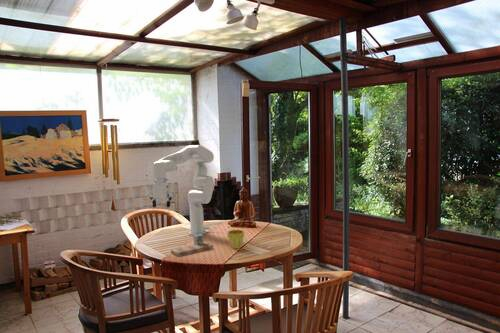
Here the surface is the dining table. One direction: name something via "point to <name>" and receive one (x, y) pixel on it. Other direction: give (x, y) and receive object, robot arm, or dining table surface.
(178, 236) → the dining table surface
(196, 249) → the board
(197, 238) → the wooden handled gray mallet
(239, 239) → the plant pot
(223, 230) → the dining table surface
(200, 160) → the robot arm
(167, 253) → the dining table surface
